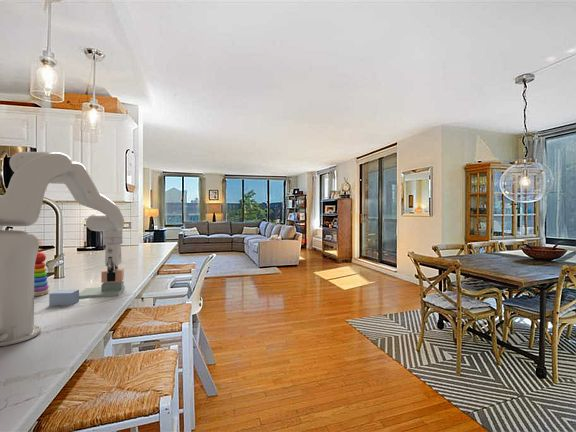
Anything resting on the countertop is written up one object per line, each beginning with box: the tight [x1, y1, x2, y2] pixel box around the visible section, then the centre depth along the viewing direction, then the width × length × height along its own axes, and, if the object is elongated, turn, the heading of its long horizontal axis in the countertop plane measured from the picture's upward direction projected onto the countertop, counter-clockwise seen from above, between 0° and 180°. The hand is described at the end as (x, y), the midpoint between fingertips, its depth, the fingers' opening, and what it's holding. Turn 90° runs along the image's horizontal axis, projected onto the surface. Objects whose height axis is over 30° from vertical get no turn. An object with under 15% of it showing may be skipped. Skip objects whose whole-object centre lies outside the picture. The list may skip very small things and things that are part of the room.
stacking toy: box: [34, 251, 50, 297], centre depth 126 cm, size 8×8×19 cm
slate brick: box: [48, 289, 80, 307], centre depth 115 cm, size 5×8×5 cm, turn 99°
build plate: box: [79, 280, 126, 299], centre depth 130 cm, size 13×16×4 cm
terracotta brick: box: [100, 268, 125, 284], centre depth 132 cm, size 5×8×5 cm, turn 111°
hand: (112, 279), depth 132 cm, fingers open, 5 cm apart
